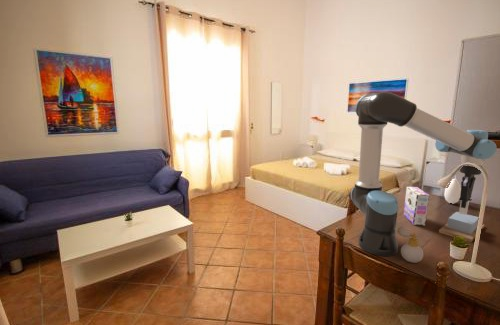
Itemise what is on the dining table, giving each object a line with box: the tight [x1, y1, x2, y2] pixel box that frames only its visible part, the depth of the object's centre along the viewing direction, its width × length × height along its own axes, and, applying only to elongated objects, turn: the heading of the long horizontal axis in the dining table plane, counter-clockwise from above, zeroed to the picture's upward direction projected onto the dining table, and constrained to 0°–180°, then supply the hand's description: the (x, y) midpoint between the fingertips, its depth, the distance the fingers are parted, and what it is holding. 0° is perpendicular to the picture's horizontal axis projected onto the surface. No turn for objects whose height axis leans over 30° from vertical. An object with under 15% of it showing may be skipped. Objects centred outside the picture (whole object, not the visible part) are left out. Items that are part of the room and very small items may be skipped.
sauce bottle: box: [444, 175, 461, 205], centre depth 156 cm, size 8×8×18 cm
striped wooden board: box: [438, 222, 485, 243], centre depth 125 cm, size 24×12×1 cm, turn 128°
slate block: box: [447, 211, 480, 235], centre depth 124 cm, size 5×9×12 cm
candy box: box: [403, 186, 430, 226], centre depth 134 cm, size 14×6×16 cm, turn 168°
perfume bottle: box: [397, 226, 424, 264], centre depth 100 cm, size 8×10×12 cm
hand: (462, 213), depth 121 cm, fingers closed
